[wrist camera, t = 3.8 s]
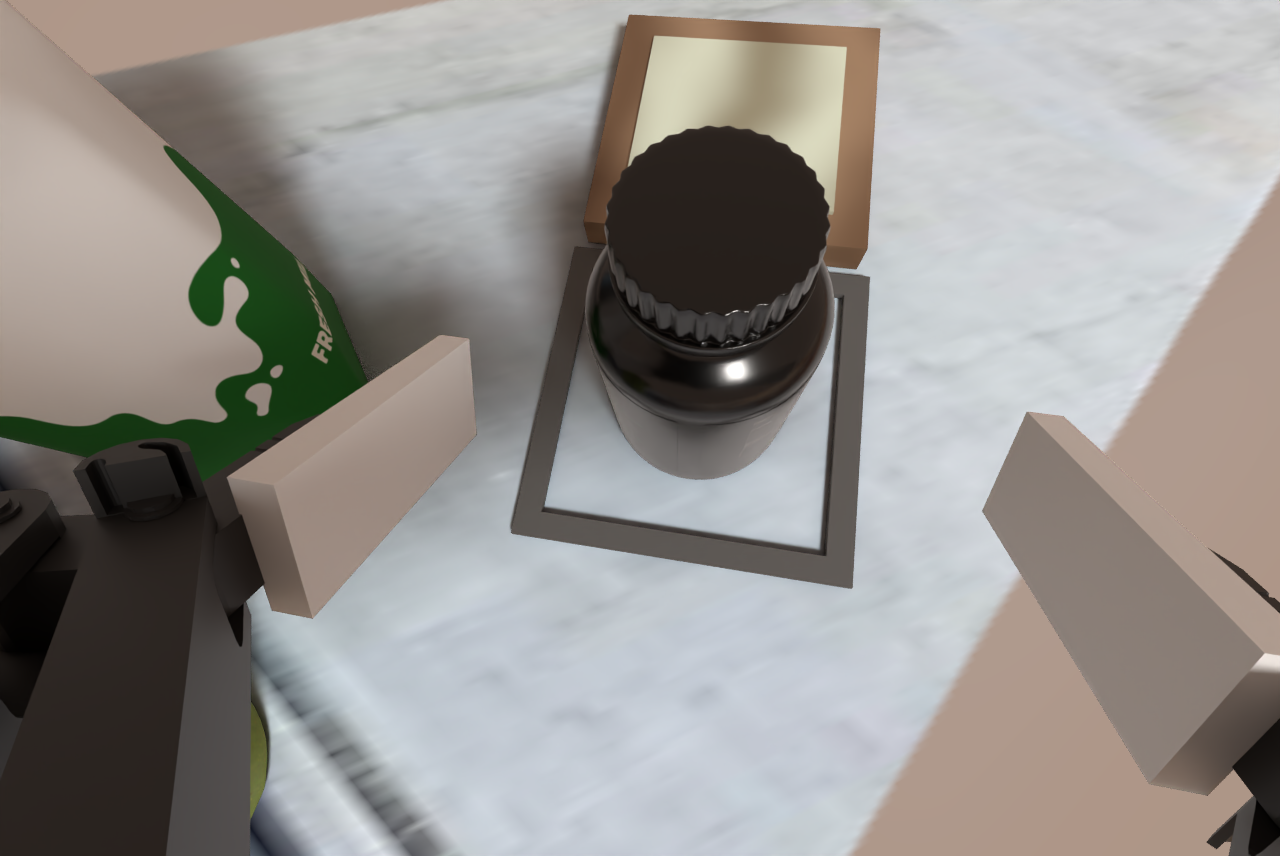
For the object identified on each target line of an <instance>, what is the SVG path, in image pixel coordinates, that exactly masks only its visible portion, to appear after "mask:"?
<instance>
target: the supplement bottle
mask: <svg viewBox="0 0 1280 856" xmlns="http://www.w3.org/2000/svg"><path fill="white" fill-rule="evenodd" d="M824 195H825V188H824V187H823V186H822V185H821V184H820V183H819V182H818V181H817V175H816V172H815V171H814V170H813V169H812V168H810V167H809V166H807V165H806V162H805V160H804V158H803V157H802V156H800V155H798V154H796V153H794V152H793V151H792V150H791V149H790V147H789V146H788V145H787V144H784V143H781V142H777V141H776V140H775V139H773V138H772V137H771V136H770V135H765V134H758V133H756V132H755V131H753V130H751V129H737V128H735V127H732V126H723V127H714V126H709V125H708V126H704V127H702V128H699V129H686V130H684V131H683V132H681V133H679V134H673V135H668V136H667V137H665V138H664V139H663V140H662V141H661V142H658V143H654V144H651V145H650V146H649V147H648V148H647V150H646V151H645V152H644V153H641V154H639V155H637V156H635V157H634V159H633V161H632V163H631V165H630V166H628V167H627V168H625V169H624V170H623V171H622V172H621V175H620V180H619V181H618V182H617V183H616V184H615V185H614V186H613V187H612V197H611V199H610V200H609V202H608V203H607V205H606V213H607V219H606V221H605V225H604V230H605V235H606V240H607V245H606V246H605V248H604V249H603V251H602V252H601V254H600V255H599V257H598V259H597V261H596V263H595V265H594V268H593V271H592V273H591V276H590V279H589V283H588V287H587V293H586V301H585V316H586V325H587V331H588V336H589V340H590V343H591V347H592V350H593V353H594V356H595V359H596V362H597V364H598V367H599V370H600V373H601V376H602V378H603V381H604V384H605V387H606V390H607V393H608V395H609V398H610V401H611V404H612V407H613V409H614V412H615V415H616V418H617V420H618V423H619V425H620V427H621V430H622V432H623V434H624V436H625V437H626V439H627V441H628V442H629V444H630V445H631V446H632V448H633V449H634V450H635V451H636V452H637V453H638V454H639V455H640V456H641V457H642V458H643V459H644V460H645V461H647V462H648V463H649V464H651V465H652V466H654V467H655V468H657V469H659V470H661V471H663V472H665V473H668V474H670V475H673V476H677V477H681V478H686V479H695V480H705V479H714V478H719V477H723V476H727V475H730V474H732V473H735V472H737V471H739V470H741V469H743V468H745V467H746V466H748V465H749V464H751V463H752V462H753V461H754V460H756V459H757V458H758V457H759V456H760V455H761V454H762V453H763V452H764V451H765V450H766V449H767V448H768V446H769V445H770V444H771V442H772V441H773V439H774V438H775V436H776V435H777V433H778V432H779V430H780V429H781V427H782V425H783V424H784V422H785V420H786V419H787V417H788V415H789V414H790V412H791V410H792V409H793V407H794V405H795V404H796V402H797V400H798V399H799V397H800V395H801V394H802V392H803V390H804V389H805V387H806V385H807V384H808V382H809V380H810V379H811V377H812V375H813V374H814V372H815V370H816V369H817V367H818V365H819V363H820V361H821V359H822V357H823V355H824V353H825V350H826V348H827V345H828V342H829V340H830V336H831V332H832V328H833V322H834V306H835V302H834V291H833V287H832V282H831V278H830V275H829V272H828V269H827V266H826V264H825V262H824V260H823V257H824V255H825V252H826V248H827V238H828V235H829V232H830V227H831V226H830V222H829V219H828V215H829V211H830V206H829V205H828V203H827V201H826V200H825V198H824Z"/></svg>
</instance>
